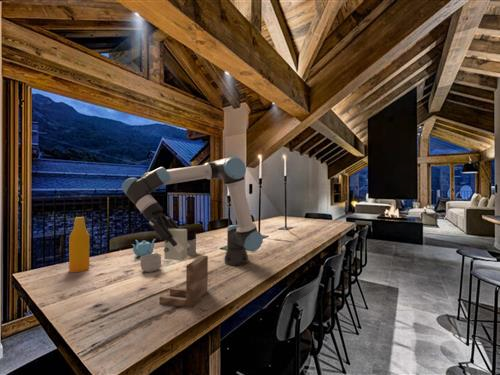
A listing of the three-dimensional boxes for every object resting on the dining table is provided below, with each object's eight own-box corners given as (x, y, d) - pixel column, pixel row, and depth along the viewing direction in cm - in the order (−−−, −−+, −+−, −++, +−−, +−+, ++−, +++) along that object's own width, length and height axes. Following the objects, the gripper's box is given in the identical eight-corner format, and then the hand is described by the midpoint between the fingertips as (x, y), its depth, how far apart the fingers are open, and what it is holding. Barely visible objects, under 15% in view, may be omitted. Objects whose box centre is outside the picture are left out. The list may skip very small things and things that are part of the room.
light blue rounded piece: (152, 258, 151) (152, 242, 151) (129, 259, 148) (129, 243, 148) (155, 252, 164) (155, 238, 164) (135, 253, 161) (135, 238, 161)
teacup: (153, 274, 124) (153, 259, 124) (135, 273, 126) (135, 258, 126) (167, 265, 138) (168, 252, 138) (151, 264, 140) (151, 251, 140)
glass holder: (199, 253, 164) (199, 231, 164) (183, 258, 152) (183, 235, 152) (190, 251, 169) (190, 230, 169) (174, 255, 157) (174, 233, 157)
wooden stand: (159, 303, 95) (159, 263, 94) (178, 287, 109) (178, 253, 109) (192, 307, 91) (192, 266, 91) (207, 291, 106) (207, 255, 105)
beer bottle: (91, 269, 131) (91, 217, 130) (70, 273, 124) (70, 219, 124) (87, 265, 137) (87, 215, 137) (67, 269, 130) (67, 217, 130)
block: (162, 259, 96) (163, 230, 95) (169, 256, 101) (170, 228, 100) (180, 261, 94) (180, 231, 94) (186, 257, 99) (187, 229, 98)
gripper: (156, 211, 109) (188, 249, 106) (130, 216, 92) (167, 261, 89) (166, 200, 108) (199, 238, 104) (141, 203, 91) (180, 249, 88)
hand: (184, 249), depth 97 cm, fingers closed on block, 4 cm apart
